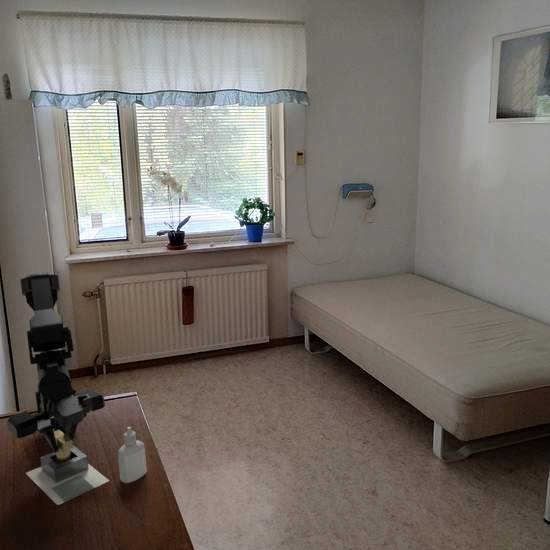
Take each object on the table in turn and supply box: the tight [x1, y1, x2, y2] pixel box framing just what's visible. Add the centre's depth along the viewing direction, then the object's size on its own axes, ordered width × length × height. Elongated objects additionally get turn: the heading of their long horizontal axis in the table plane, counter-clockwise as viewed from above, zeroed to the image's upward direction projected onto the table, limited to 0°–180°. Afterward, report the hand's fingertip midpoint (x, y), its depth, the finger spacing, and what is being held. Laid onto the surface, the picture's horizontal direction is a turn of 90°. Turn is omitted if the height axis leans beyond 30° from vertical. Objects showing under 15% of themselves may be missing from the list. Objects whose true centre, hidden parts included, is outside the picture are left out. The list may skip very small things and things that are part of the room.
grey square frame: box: [39, 444, 89, 483], centre depth 120 cm, size 7×7×3 cm
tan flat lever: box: [54, 430, 74, 465], centre depth 119 cm, size 6×3×8 cm, turn 45°
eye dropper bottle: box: [117, 426, 148, 484], centre depth 116 cm, size 4×6×12 cm
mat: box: [52, 476, 95, 502], centre depth 113 cm, size 6×6×1 cm
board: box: [25, 463, 110, 506], centre depth 118 cm, size 16×11×1 cm
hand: (62, 448), depth 119 cm, fingers closed on tan flat lever, 3 cm apart
